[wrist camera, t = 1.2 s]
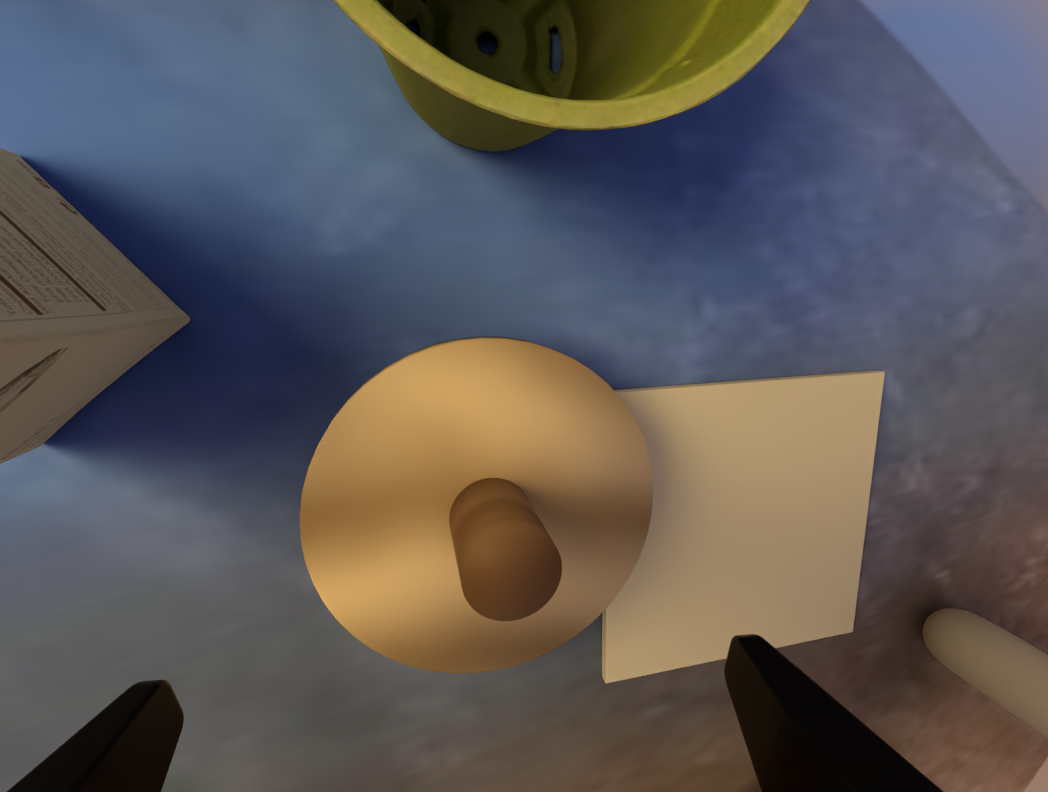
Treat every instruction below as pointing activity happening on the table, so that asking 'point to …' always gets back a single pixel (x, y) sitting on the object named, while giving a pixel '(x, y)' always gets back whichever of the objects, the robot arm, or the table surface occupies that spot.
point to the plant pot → (566, 60)
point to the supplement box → (64, 310)
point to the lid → (476, 505)
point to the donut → (992, 663)
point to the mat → (746, 517)
